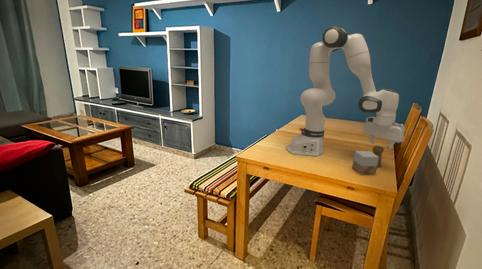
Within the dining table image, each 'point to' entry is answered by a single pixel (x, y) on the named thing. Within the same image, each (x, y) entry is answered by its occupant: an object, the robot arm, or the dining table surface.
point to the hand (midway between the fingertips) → (380, 145)
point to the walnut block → (364, 169)
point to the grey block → (366, 158)
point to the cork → (378, 154)
